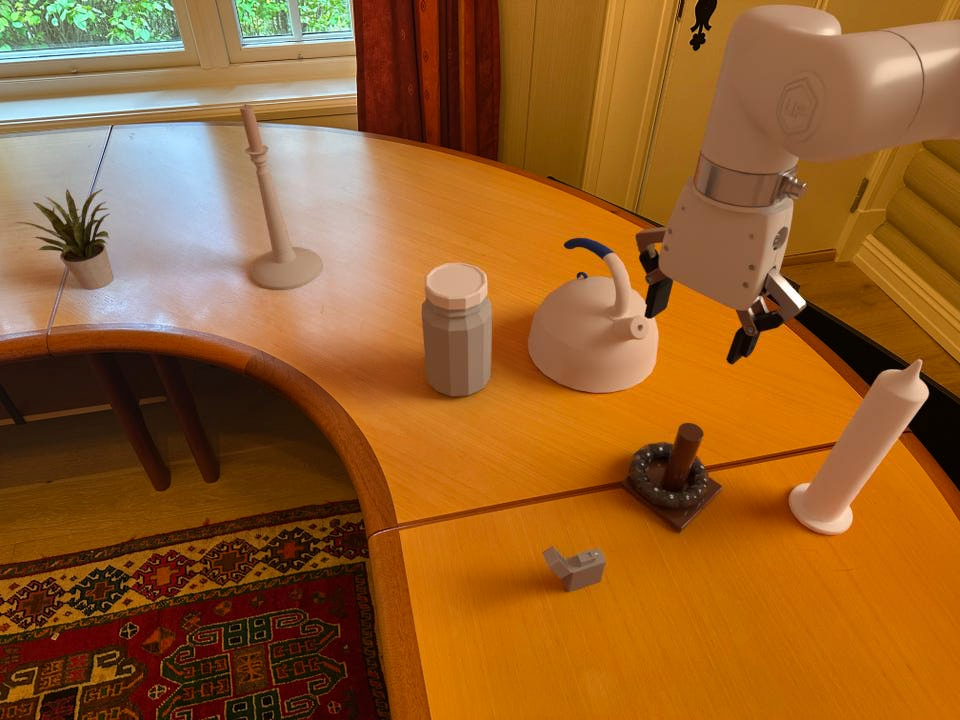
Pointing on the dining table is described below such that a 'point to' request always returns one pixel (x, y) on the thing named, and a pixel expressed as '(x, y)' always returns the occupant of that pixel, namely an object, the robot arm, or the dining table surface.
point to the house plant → (79, 242)
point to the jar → (457, 329)
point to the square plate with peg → (676, 477)
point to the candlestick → (276, 226)
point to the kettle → (594, 330)
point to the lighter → (576, 567)
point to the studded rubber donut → (660, 495)
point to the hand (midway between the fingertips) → (694, 334)
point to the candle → (859, 450)
